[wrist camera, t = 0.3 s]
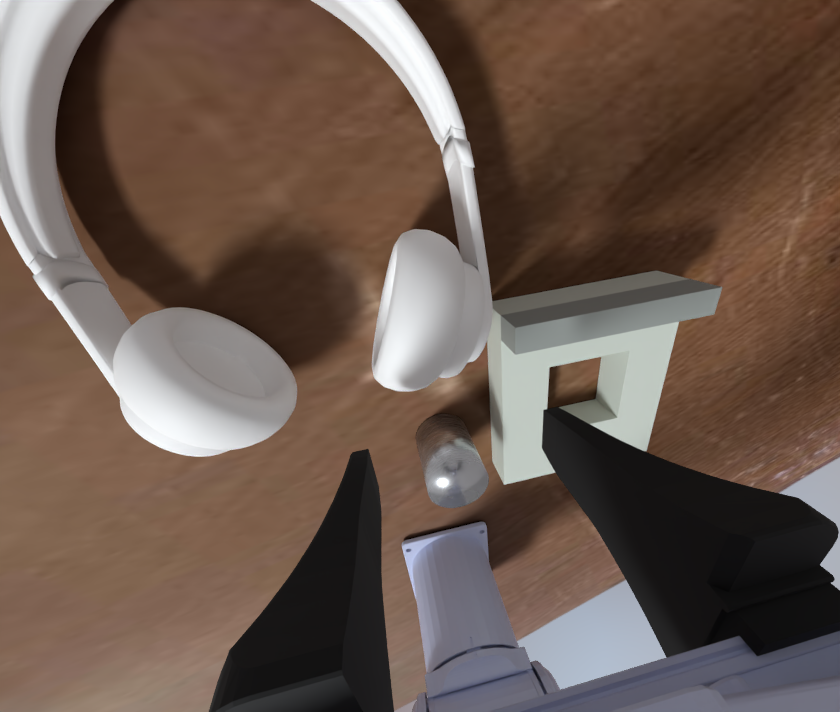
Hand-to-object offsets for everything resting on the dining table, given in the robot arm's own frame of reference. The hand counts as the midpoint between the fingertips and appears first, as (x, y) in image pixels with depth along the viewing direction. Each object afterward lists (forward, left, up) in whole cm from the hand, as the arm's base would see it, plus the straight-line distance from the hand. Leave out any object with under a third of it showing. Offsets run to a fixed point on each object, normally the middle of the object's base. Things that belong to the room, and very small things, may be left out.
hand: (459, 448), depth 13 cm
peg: (-8, -1, -10) cm, 12 cm away
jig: (-5, -11, -10) cm, 15 cm away
